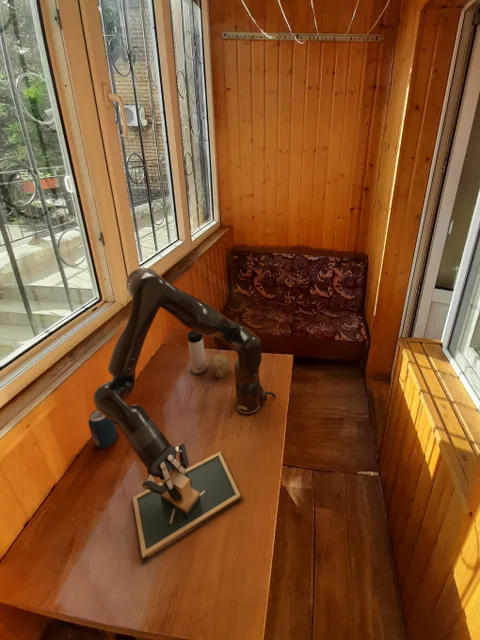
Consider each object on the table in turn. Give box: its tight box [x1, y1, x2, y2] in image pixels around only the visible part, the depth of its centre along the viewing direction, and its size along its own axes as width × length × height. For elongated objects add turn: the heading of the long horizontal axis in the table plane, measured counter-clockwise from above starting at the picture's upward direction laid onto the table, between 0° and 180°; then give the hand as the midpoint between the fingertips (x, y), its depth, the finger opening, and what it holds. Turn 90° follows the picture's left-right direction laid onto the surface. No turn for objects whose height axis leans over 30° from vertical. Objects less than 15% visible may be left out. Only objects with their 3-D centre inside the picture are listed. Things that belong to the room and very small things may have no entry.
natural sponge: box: [208, 354, 231, 378], centre depth 136 cm, size 9×9×10 cm
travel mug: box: [187, 329, 207, 375], centre depth 137 cm, size 6×7×20 cm
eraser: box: [160, 469, 200, 519], centre depth 86 cm, size 10×5×9 cm, turn 62°
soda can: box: [88, 408, 118, 449], centre depth 104 cm, size 7×7×12 cm
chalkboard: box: [132, 451, 242, 562], centre depth 88 cm, size 26×16×2 cm, turn 123°
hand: (184, 492), depth 85 cm, fingers closed on eraser, 3 cm apart
